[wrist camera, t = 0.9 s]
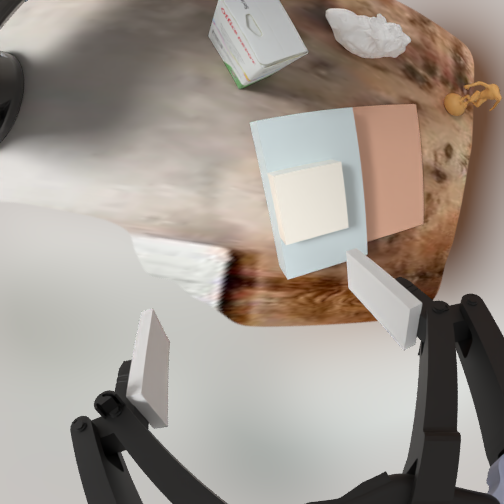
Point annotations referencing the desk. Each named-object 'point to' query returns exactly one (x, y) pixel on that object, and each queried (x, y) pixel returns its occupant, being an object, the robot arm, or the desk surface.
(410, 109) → the mat
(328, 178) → the coaster
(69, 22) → the desk surface
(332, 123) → the plate
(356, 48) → the white tied bag
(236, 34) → the ink box
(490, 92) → the figurine
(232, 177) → the desk surface
